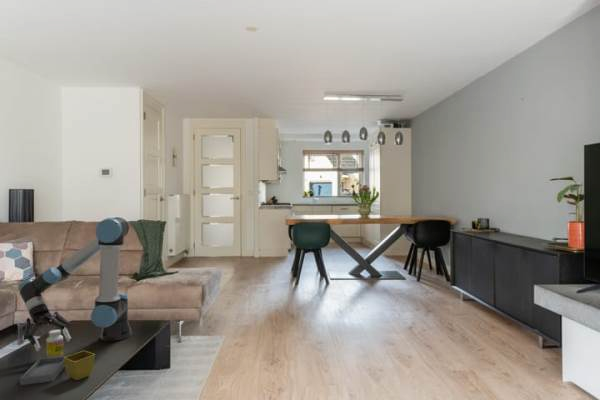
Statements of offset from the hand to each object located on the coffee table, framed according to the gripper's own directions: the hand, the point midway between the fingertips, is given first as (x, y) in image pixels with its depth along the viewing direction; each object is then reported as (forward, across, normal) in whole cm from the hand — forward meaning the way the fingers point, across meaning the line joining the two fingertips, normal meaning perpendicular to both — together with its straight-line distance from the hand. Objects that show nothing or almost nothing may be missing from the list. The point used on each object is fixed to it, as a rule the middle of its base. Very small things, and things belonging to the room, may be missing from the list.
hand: (54, 344), depth 183 cm
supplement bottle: (+4, 0, -5) cm, 7 cm away
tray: (+13, +10, +4) cm, 17 cm away
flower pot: (+26, +5, +16) cm, 30 cm away
